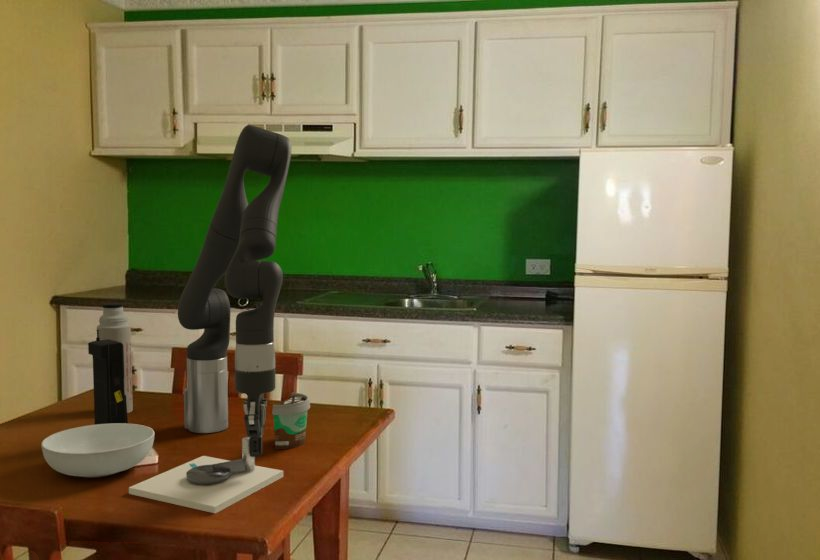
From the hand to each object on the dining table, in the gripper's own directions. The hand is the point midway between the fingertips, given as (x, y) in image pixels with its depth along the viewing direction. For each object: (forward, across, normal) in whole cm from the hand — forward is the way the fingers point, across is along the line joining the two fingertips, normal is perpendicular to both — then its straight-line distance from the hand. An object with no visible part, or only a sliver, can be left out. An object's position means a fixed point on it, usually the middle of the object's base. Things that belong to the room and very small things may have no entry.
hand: (256, 455), depth 143 cm
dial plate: (+5, -1, +9) cm, 10 cm away
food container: (+5, +24, -6) cm, 25 cm away
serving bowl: (+5, +8, +32) cm, 33 cm away
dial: (+3, 0, +6) cm, 7 cm away
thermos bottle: (+4, +52, +42) cm, 68 cm away
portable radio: (+5, +27, +35) cm, 45 cm away
